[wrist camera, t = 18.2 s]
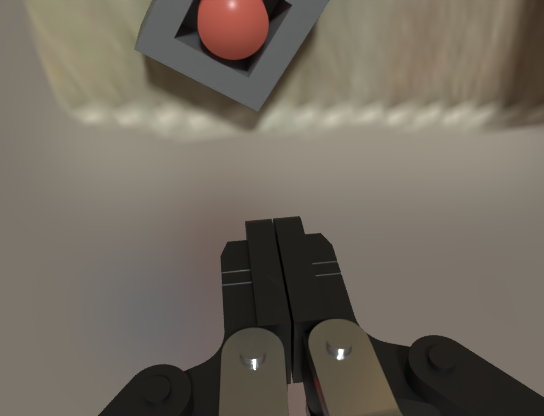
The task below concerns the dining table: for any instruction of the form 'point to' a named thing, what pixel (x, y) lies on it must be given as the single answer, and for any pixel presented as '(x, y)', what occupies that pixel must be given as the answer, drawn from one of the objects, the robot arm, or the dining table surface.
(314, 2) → the button console
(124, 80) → the dining table surface
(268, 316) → the robot arm
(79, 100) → the dining table surface
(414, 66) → the dining table surface
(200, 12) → the button
